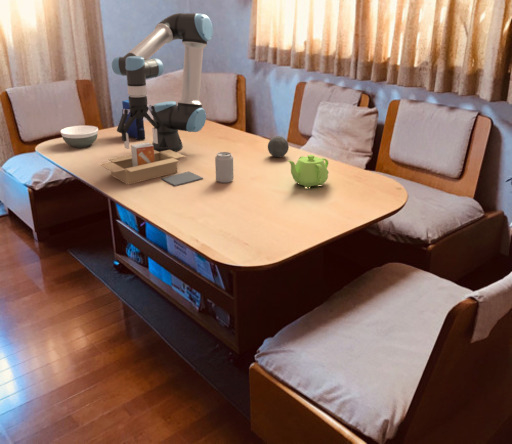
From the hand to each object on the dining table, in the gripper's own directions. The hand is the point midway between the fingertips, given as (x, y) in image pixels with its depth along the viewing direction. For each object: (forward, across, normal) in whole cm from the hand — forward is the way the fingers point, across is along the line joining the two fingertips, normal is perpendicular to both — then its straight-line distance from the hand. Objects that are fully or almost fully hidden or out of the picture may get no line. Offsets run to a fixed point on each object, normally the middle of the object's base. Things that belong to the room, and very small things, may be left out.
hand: (141, 145), depth 229 cm
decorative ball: (+12, -62, +18) cm, 66 cm away
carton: (+13, 0, 0) cm, 13 cm away
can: (+13, -22, +29) cm, 39 cm away
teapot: (+13, -46, +55) cm, 73 cm away
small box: (+13, 0, 0) cm, 13 cm away
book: (+12, -26, -56) cm, 63 cm away
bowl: (+13, +3, -61) cm, 62 cm away
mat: (+13, -10, +16) cm, 23 cm away
